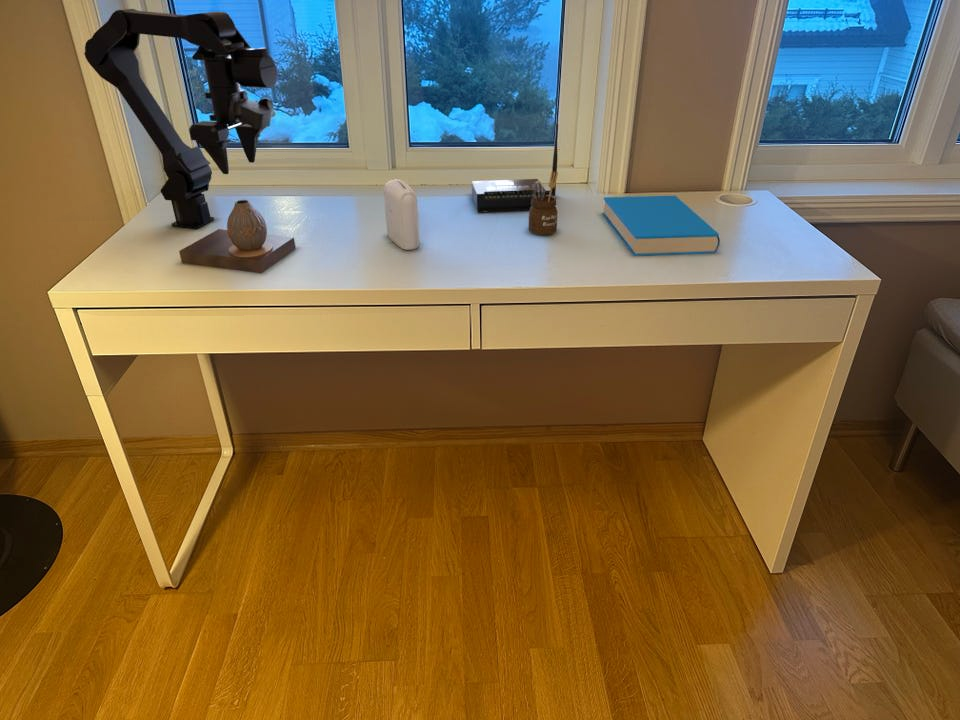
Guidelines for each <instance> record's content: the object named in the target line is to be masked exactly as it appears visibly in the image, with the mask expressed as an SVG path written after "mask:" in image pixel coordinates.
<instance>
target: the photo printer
mask: <svg viewBox="0 0 960 720" xmlns="http://www.w3.org/2000/svg"><path fill="white" fill-rule="evenodd" d="M383 197H384V198H383V199H384V210H385V211H384V212H385V222H386V232H387V237H388V238H389V239H390V240H391V241H392V243H394V244H395V245H397V246H398V247H399V248H400V249H402V250H405V251H412V250H416V249H417V248H418V247H420V230H419V211H418V199H417V195H416V193H415V191H414V189H412V187H411V186H410V185H409V184H408V183H407V182H405V181H404V180H402V179H399V178H396V179H390V180H388V181H387V182H386V183H385V184H384V186H383Z"/></svg>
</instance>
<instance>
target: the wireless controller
mask: <svg viewBox="0 0 960 720" xmlns="http://www.w3.org/2000/svg"><path fill="white" fill-rule="evenodd" d="M554 133H555V135H554V145H553V153H552V164H551V165H552V166H551V169H552V170H551V172H552V171H553V174H554V172H555V177H556V172H558V138H559V124H558V123H555V131H554ZM555 177H554V181H555ZM552 179H553V175H552ZM537 181H539V182H540V180H539V179H538V178H521V179H519V178H518V179H497V180H496V179H494V180H493V179H492V180H471V198H472V201H473V204H474V206H475V209H476V210H477V213H478V214H493V213H515V212H516V213H517V212H519V213H521V212H529V210H530V207H531V206H532V205H531V200H532V198H533V197H535V196H538V194H539V196H549V193H550V189H549V190H547V189H546V188H545V186H543V184H542V183H541V182H540V183H541V184H542V185H541V184H540V183H539V182H538V185H539V187H538V185H537ZM535 182H536V183H535ZM533 184H534V185H533ZM535 184H536V185H535ZM542 187H543V188H542ZM556 191H557V184H556V185H555V187H554V188H553V189H552V193H551V197H556ZM534 192H535V193H534ZM533 195H534V196H533Z"/></svg>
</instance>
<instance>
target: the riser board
mask: <svg viewBox="0 0 960 720" xmlns="http://www.w3.org/2000/svg"><path fill="white" fill-rule="evenodd" d="M296 248H297V247H296V241H295V237H294V236H287V235H286V236H285V235H276V234H268V233H267V237H266V241H265V243H264V244H263V245H262V247H261V248H259V249H257V250H253V251H242V250H240V249H238V248H237V247H236V246H235V245H234V244H233V243H232V242H231V240H230V238H229V235H228V231H227V229H222V228H218V229H216V230H214V231H212V232H211V233H209V234H207V235H205V236H203V237H202V238H200V239H198V240H196V241H195V242H193V243H190V244H189V245H187V246H186V247H184V248H181V249H180V250H179V251H178V253H179V257H180V261H181V264H183V265H193V266H201V267H208V268H215V269H216V268H217V269H224V270H232V271H241V272H247V273H248V272H250V273H256V274H258V273H259V274H262V273H264V272H265V271H267V270H268V269H270V268H272V267H273V266H274V265H276V264H277V263H278V262H280V261H282V259H284V258H285V257H286V256H288V255H289V254H291V253H292V252H294V251H295V250H296Z"/></svg>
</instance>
